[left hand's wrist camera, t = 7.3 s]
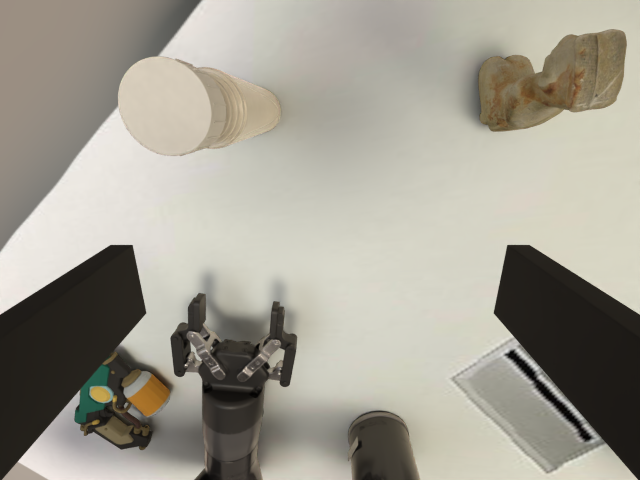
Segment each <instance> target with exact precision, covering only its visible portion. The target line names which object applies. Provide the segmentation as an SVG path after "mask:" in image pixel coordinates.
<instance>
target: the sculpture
mask: <svg viewBox="0 0 640 480" xmlns="http://www.w3.org/2000/svg"><path fill="white" fill-rule="evenodd" d="M626 46H627V41H626V36H625V33H624V32H623V31H620V30H615V29H612V30H606V31H603V32H599V33H590V34H584V35H580V36H576V35H567V36H565V37H564V38H563V39H562V40H561V41H560V42H559V43H558V45H557V46H556V47H555V48H554V50H553V51H552V52H551V54H550V55H548V56H547V57H546V59H545V62H544V67H543V71H542V72H539V73H536V74H535V73H534V70H533V67H532V64H531V62H530V60H529V59H528V58H526V57H524V56H521V55H512V56H510V57H507V58H506V59H505V60H504V59H502V58H501V57H500V56H497V57H491V58H489V59H488V60H486V61H485V62H484V63H483V65H482V67H481V69H480V72H479V78H478V84H479V96H480V102H481V113H480V121H481V123H482V124H486V125H488V127H489V129H490V130H491V131H510V130H518V129H526V128H529V127H533V126H536V125H540V124H542V123H544V122H546V121H548V120H549V119H551V118H553V117H554V116H556V115H558V114H559V113H561V112H562V111H563V110H564V109H565V110H569V111H571V112H580V111H585V110H591V109H601V108H605V107H607V106H610V105H611V104H613V103H614V102H615V101H616V98H617V95H618V93H619V91H620V89H621V85H622V81H623V77H624V62H625V54H626Z"/></svg>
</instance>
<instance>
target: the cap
mask: <svg viewBox="0 0 640 480" xmlns="http://www.w3.org/2000/svg"><path fill="white" fill-rule="evenodd" d="M118 105H119V111H120V114H121V117H122V120H123V122H124V124H125V126H126V128H127V130H128V131H129V132H130V134H131V135H132V136H133V137H134V139H135V140H137V141H138V142H139V143H140V144H141V145H142V146H144V147H145V148H147V149H149V150H150V151H153V152H155V153H158V154H161V155H166V156H178V155H179V156H182V155H186V154H189V153H192V152H195V151H198V150H201V149H204V148H208V147H209V145H211V144H212V143H213V142H214V141H215V140H216V139H217V138H218V137H220V134H221V132H222V130H223V128H224V125H225V123H226V121H225V120H226V104H225V101H224V98H223V95H222V93H221V90H220V87H218V85H217V84H216V83H215V81H214V80H213V79H212V78H211V77H210V76H209V75H208V73H206V72H203V71H202V70H200V69H198V68H196V67H194V66H193V65H192V64H189V63H187V62H184V61H181V60H178V59H175V60H174V59H171V58H167V57H149V58H146V59H143V60H140V61H138V62H137V63H135V64H134V65H133V66H132V67H130V68H129V69H128V71H127V72H126V73H125V75H124V77H123V79H122V81H121V84H120V87H119V92H118Z"/></svg>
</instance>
